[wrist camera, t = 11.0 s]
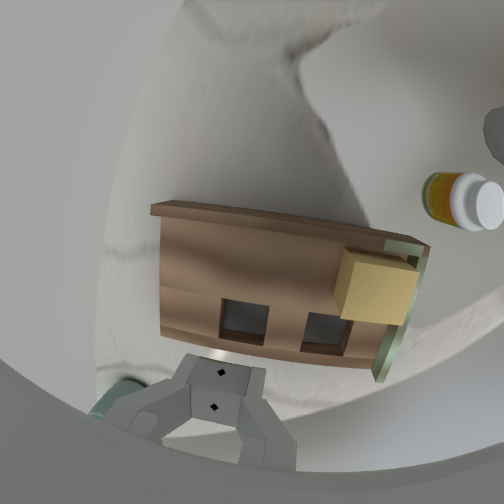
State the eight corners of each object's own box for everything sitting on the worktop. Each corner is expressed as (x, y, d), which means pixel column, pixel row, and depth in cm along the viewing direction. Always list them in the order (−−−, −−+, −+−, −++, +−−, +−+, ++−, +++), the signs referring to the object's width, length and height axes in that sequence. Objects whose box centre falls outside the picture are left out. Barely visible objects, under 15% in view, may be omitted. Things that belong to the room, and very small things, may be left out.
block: (343, 246, 25) (355, 261, 21) (399, 256, 25) (419, 272, 20) (332, 295, 27) (340, 318, 22) (386, 302, 26) (402, 325, 21)
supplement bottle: (423, 224, 26) (472, 244, 17) (416, 175, 25) (466, 175, 16) (460, 216, 25) (512, 233, 16) (454, 170, 24) (508, 170, 15)
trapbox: (172, 200, 29) (148, 204, 24) (410, 236, 27) (432, 248, 21) (168, 325, 33) (149, 348, 28) (373, 357, 31) (384, 385, 25)
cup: (119, 364, 37) (84, 404, 27) (163, 388, 36) (135, 434, 27) (116, 394, 39) (88, 431, 29) (156, 415, 39) (133, 457, 29)
